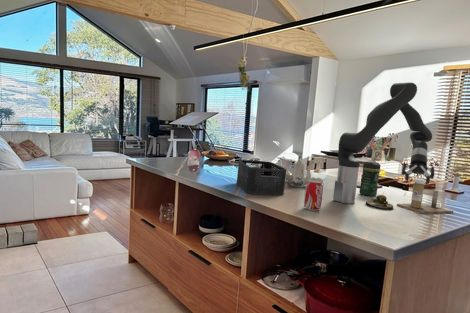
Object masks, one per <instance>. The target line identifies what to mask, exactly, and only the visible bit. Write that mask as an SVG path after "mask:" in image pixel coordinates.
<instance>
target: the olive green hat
mask: <svg viewBox="0 0 470 313" xmlns="http://www.w3.org/2000/svg"><path fill="white" fill-rule="evenodd" d="M384 193H385V191H383V192H382V194H378V195H376V198H374V197H372V198H371V199H370V200H366V201H365V205H369V206H371V207H375V208H380V209H389V210H390V211H392V210H393V209H394V205H393V204H392V203H389V201H388V200H387V197H386V195H385V194H384Z"/></svg>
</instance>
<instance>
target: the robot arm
mask: <svg viewBox="0 0 470 313" xmlns="http://www.w3.org/2000/svg"><path fill="white" fill-rule="evenodd" d="M417 93H418V86H417V84H415V83H414V82H412V81H411V82H410V81H402V82H401V81H400V82H394V83H393V84H392V85H391V86H390V89H389V95H390V97H391V98H390V99H388V100H385V101H383V102H381V103H379V104H377V105H376V106H375V107H374V108H373V109H372V110H371V111H370V112H369V113H368V114H367V116H366V121H365V123H366V124H365V126H364V127H363V128H362V129H360V131H358V132H349V131H347V132H344V133H342V134H341V135H340V137H339V140H338V150H337V153H338V154H337V159H338V167H337V168H338V169H337V176H336V180H335V181H334V187H333V197H332V201H336V202H337V203H340V204H342V203H343V204H355V200H356V193H357V186H358V178H359V170H360V161H359V160H358V159H356V157H355V156H354V153H355V154H357V153H358V154H359V153H361V152H362V151H364V150H365V148H366V147H367V146H368V145H369V144H370V142H371V141H372V140H373V138H374V137H375V136H376V134H378V132H380V130H381V129H383V127H384V126H385V125H387V123H389V121H390V120H391V119H392V118H393V117H394V116H395V115H396V114H397V113H398V112H399V111H400V112H401V114H402V115H403V118H404V119H405V121H406V123H407V125H408V128H409V130H410V131H411V133H410V135H409V138H410V141H411V144H412V145H411V146H412V151H411V154H410V164H407V163H403V165H402V171H401V175H402V176H404V177H405V181H406V182H407V183H409V177H410V175H412V174H415V175H422V177H424V178H425V185H426V186H427V185H428V184H430V179H432V180H434V177H435V167H434V166H431V167H428V147H429V146H428V142H430V141H432V139H433V133H432V131H431V130H430V128H428V127H427V126H426V124H425V123H424V121H423V119H422V116H421V114H420V113H419V112H418V110H417V109H416V108H414V107H413V106H412V105H411V104H410V102H412V100H413V99H414V98H415V97H416V95H417ZM408 168H409V170H407V169H408ZM406 170H407V171H406Z"/></svg>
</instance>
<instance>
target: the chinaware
mask: <svg viewBox="0 0 470 313" xmlns="http://www.w3.org/2000/svg"><path fill="white" fill-rule="evenodd" d="M289 165H292V167H293V168H294V170H293V173H292V172H290V171H289V169H288V166H289ZM305 166H306V163H304V161H303V160H302V158H299V159H298V160H297V161H295V162H294V163H293V162H292V163H291V162H290V163H288V164H287V165H286V168H285V169H286V178H285V182H287V183H290V186H291V187H296V188H306V184H307V182H308V180H318V181H322V185H323V186H324V181H325V178H324V179H323V178H321V177H315V176H314V177H313V176H312V173H311V169H310V168H311V166H312V164H308V165H307V167H306V175H305Z"/></svg>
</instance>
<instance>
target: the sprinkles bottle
mask: <svg viewBox="0 0 470 313" xmlns="http://www.w3.org/2000/svg"><path fill="white" fill-rule="evenodd" d="M425 185H426V179H423V178H414V180H413V187H412V194H411V202H410V204H411V205H410V206H411V207H414V208H421V203H423V199H424V198H423V196H424V189H425Z"/></svg>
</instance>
